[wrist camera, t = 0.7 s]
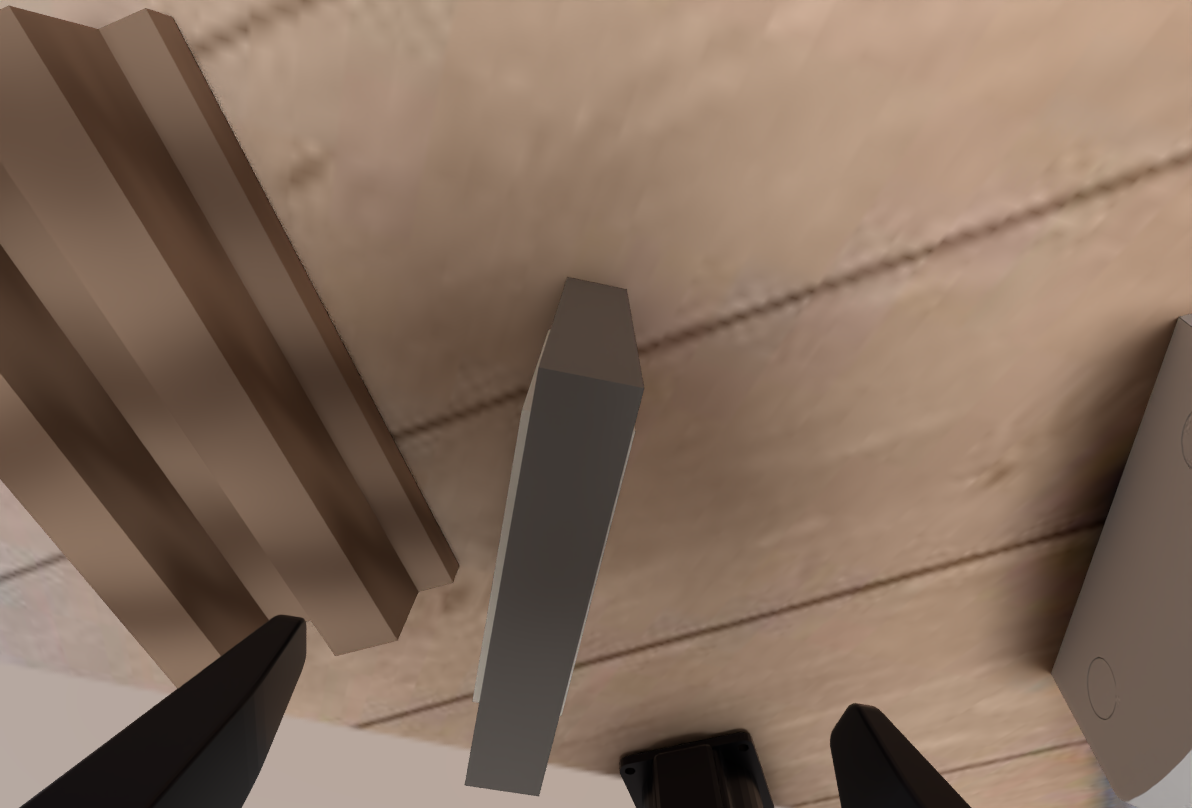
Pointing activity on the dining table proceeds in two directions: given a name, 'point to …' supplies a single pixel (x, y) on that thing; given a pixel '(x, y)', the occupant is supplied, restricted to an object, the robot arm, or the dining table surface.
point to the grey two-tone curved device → (1142, 607)
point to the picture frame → (554, 531)
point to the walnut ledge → (182, 364)
